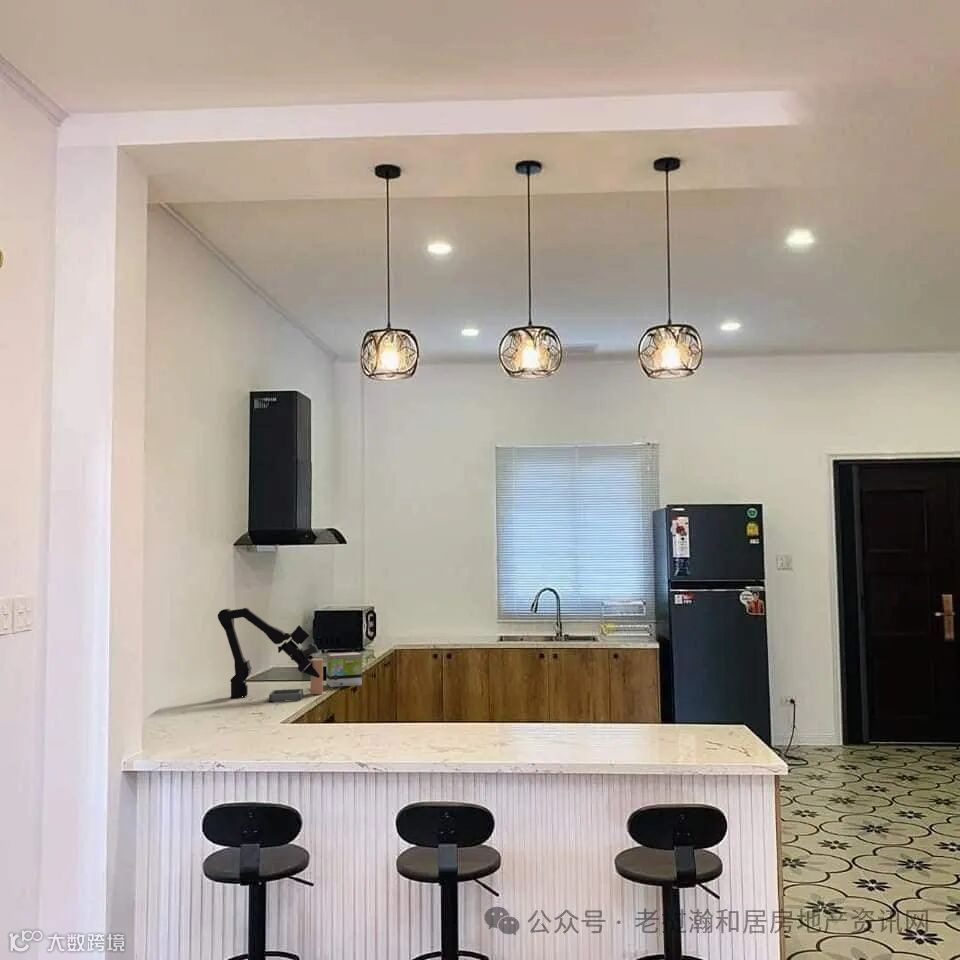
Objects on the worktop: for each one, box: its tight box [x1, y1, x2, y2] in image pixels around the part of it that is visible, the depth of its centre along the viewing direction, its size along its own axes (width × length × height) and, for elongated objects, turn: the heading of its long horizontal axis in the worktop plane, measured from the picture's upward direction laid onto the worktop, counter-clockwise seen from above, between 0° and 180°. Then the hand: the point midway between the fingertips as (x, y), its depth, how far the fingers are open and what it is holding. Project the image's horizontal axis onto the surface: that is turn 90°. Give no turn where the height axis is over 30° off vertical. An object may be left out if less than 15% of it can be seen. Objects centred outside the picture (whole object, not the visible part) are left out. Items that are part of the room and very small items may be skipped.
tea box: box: [325, 651, 363, 688], centre depth 416 cm, size 15×10×15 cm
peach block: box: [310, 657, 324, 695], centre depth 393 cm, size 5×6×15 cm
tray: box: [268, 688, 304, 702], centre depth 380 cm, size 13×13×3 cm
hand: (319, 676), depth 393 cm, fingers closed on peach block, 6 cm apart
